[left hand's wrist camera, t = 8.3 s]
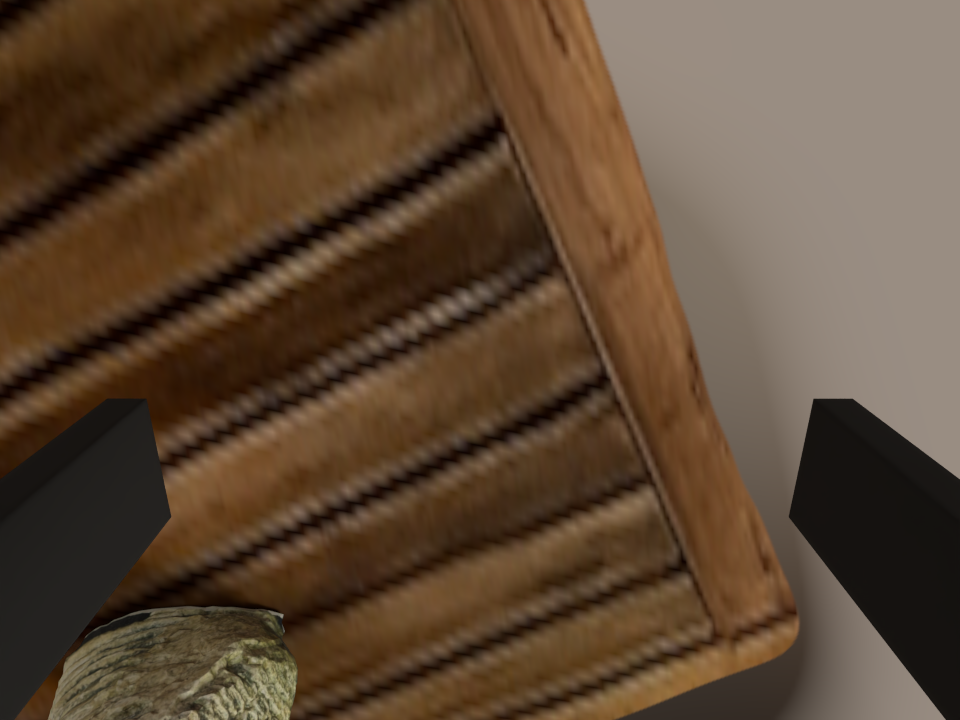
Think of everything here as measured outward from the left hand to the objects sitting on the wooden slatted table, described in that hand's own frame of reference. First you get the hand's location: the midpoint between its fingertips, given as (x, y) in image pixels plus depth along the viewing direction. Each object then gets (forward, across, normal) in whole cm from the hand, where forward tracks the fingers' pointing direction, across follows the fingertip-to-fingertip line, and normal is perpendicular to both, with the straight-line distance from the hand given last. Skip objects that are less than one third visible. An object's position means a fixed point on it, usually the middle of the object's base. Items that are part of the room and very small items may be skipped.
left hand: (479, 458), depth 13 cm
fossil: (+26, +22, +31) cm, 46 cm away
